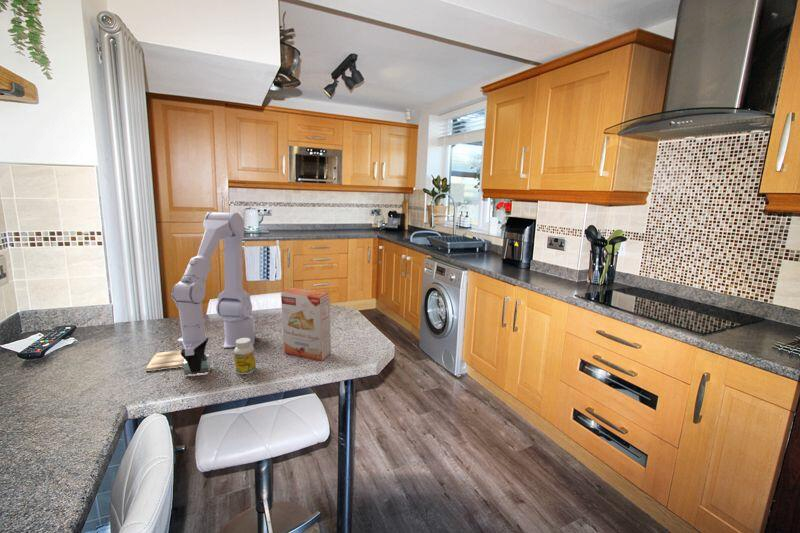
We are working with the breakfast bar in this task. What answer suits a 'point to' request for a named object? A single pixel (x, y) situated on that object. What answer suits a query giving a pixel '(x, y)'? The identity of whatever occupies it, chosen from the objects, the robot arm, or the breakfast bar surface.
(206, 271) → the robot arm
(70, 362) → the breakfast bar surface
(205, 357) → the housing
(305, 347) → the cracker box
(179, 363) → the plate
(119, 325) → the breakfast bar surface
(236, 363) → the supplement bottle
